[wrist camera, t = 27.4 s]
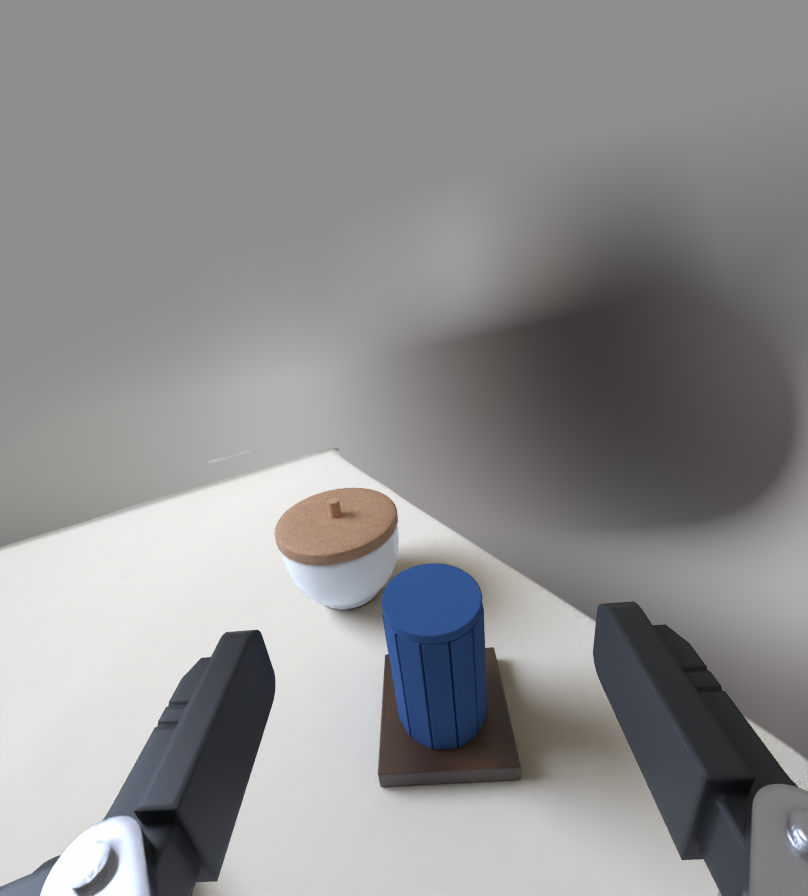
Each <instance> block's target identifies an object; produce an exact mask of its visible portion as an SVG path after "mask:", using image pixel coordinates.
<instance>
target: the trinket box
mask: <svg viewBox="0 0 808 896" xmlns="http://www.w3.org/2000/svg"><path fill="white" fill-rule="evenodd" d="M397 523H398V517H397V509H396V506H395V504H394V503H393V501H392V500H391V499H390V498H389V497H387V496H386V495H384V494H382V493H380V492H378V491H374V490H370V489H364V488H343V489H336V490H330V491H326V492H323V493H319V494H316V495H313V496H311V497H309V498H306V499H304V500H302V501H300V502H299V503H297V504H295V505H294V506H292V507H291V508H290V509H289V510H287V511H286V512H285V513H284V514H283V515H282V517H281V518H280V519H279V521H278V523H277V525H276V528H275V539H276V543H277V546H278V548H279V550H280V552H281V556H282V559H283V562H284V565H285V567H286V569H287V571H288V574H289V576H290V578H291V579H292V581H293V583H294V584H295V585H296V587H297V588H298V589H299V590H300V591H301V592H302V593H303V594H304V595H305V596H307V597H308V598H310V599H311V600H313V601H315V602H317V603H320V604H323V605H325V606H327V607H329V608H333V609H338V610H346V609H352V608H356V607H359V606H361V605H364V604H366V603H367V602H369V601H370V600H371V599H373V598H374V597H375V596H376V595H377V593H378V592H379V591H380V589H381V588H382V587H383V586H384V585H385V584H386V583H387V581H388V580H389V578H390V576H391V575H392V573H393V570H394V568H395V565H396V561H397V555H398V543H399V539H398V526H397Z"/></svg>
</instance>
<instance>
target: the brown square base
mask: <svg viewBox="0 0 808 896" xmlns="http://www.w3.org/2000/svg"><path fill="white" fill-rule="evenodd" d="M485 660H486V686H487V715H486V717H485V720H484V722H483V725H482V727H481V730H480V732H477V736H475V737H474V738H472V739H471V740H470V741H468V742H467V743H465V744H464V745H463V746H461V747H459V746H458V744H457V749H443V750H434V746H433V748H432V749H430V748H428V747H426V746H424V745H423V744H421V743H419V742H417V741H415V740H413V739H412V736H409V734H408V732H407V731H406V729H405V727H404V726H403V724H402V722H401V720H400V718H399V714H398V708H397V702H396V696H395V689H394V683H393V677H392V671H391V665H390V659H389V654H388V655H385V666H384V683H383V699H382V716H381V732H380V748H379V765H378V777H379V781H380V786H381V787H384V786H404V785H424V784H443V783H463V782H483V781H503V780H520V777H521V766H520V762H519V757H518V753H517V748H516V744H515V739H514V735H513V730H512V726H511V722H510V717H509V713H508V708H507V704H506V699H505V695H504V690H503V686H502V681H501V677H500V672H499V668H498V664H497V659H496V655H495V650H494V648H485Z"/></svg>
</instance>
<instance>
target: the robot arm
mask: <svg viewBox="0 0 808 896" xmlns="http://www.w3.org/2000/svg"><path fill="white" fill-rule="evenodd" d="M593 656H594V663H595V668H596V671H597V674H598V677H599V680H600V682H601V684H602V686H603V689H604V691H605V693H606V695H607V697H608V700H609V702H610V704H611V706H612V708H613V710H614V713H615V715H616V717H617V719H618V721H619V724H620V726H621V728H622V730H623V732H624V734H625V737H626V739H627V741H628V743H629V745H630V748H631V750H632V752H633V754H634V756H635V758H636V761H637V763H638V765H639V767H640V769H641V772H642V774H643V776H644V778H645V780H646V782H647V785H648V787H649V789H650V791H651V793H652V796H653V798H654V800H655V802H656V804H657V806H658V809H659V811H660V813H661V815H662V817H663V819H664V822H665V824H666V826H667V828H668V830H669V833H670V835H671V837H672V839H673V841H674V843H675V846H676V848H677V850H678V852H679V854H680V857H681V859H682V860H693V859H704V860H705V863H706V865H707V867H708V869H709V871H710V873H711V875H712V877H713V879H714V881H715V883H716V885H717V887H718V889H719V893H718V896H808V791H806V790H803V789H801V788H799V787H798V786H797V785H796V784H795V783H794V782H793V781H792V780H791V779H790V778H789V776H788V775H787V774H786V773H785V772H784V770H783V769H782V768H781V766H780V765H779V764H778V762H777V761H776V759H775V758H774V757H773V755H772V754H771V753H770V751H769V750H768V749H767V747H766V746H765V745H764V743H763V742H762V741H761V739H760V738H759V737H758V735H757V734H756V732H755V731H754V730H753V728H752V727H751V726H750V724H749V723H748V722H747V720H746V719H745V718H744V716H743V715H742V714H741V712H740V711H739V710H738V708H737V707H736V705H735V704H734V703H733V701H732V700H731V699H730V697H729V696H728V695H727V693H726V692H725V691H722V689H721V685H720V684H719V683H718V681H717V680H716V679H715V677H714V676H713V674H712V673H711V672H710V671H708V670H707V667H706V665H705V664H704V662H703V661H702V660H701V658H700V657H699V656H698V654H697V653H696V652H695V650H694V649H693V647H692V646H691V645H690V644H689V643H688V642H687V641H686V640H684V639H683V638H682V637H680V636H679V635H678V634H677V633H676V632H674V631H673V630H672V629H670V628H669V627H668V626H667V625H652V624H651V622H650V621H649V619H648V618H647V616H646V615H645V613H644V612H643V610H642V609H641V608H640V606H639V605H638V604H637V603H635V602H622V603H607V604H600V605H599V606H598V609H597V618H596V628H595V638H594V647H593ZM274 695H275V674H274V670H273V667H272V664H271V661H270V658H269V655H268V652H267V649H266V646H265V643H264V640H263V637H262V634H261V632H260V631H259V630H249V631H236V632H226V633H225V634H224V635H223V636H222V637H221V639H220V641H219V643H218V645H217V646H216V648H215V650H214V652H213V654H212V656H211V657H208V658H201V659H200V660H199V661H198V662H197V663H196V664H195V665H194V666H193V667H192V668H191V670H190V671H189V672H188V673H187V674H186V675H185V676H184V677H183V678H182V679H181V681H180V683H179V685H178V687H177V688H176V690H175V692H174V694H173V696H172V698H171V699H170V701H169V706H168V707H166V708H165V710H164V712H163V714H162V716H161V718H160V719H159V721H158V726H157V727H155V728H154V730H153V732H152V734H151V736H150V738H149V739H148V741H147V743H146V745H145V747H144V748H143V750H142V752H141V754H140V756H139V758H138V759H137V761H136V763H135V765H134V767H133V768H132V770H131V772H130V774H129V776H128V778H127V779H126V781H125V783H124V785H123V787H122V788H121V790H120V792H119V794H118V796H117V798H116V799H115V801H114V803H113V805H112V807H111V808H110V810H109V812H108V813H107V815H106V816H105V818H104V819H103V820H102V821H101V822H99V823H97V824H96V825H94V826H92V827H91V828H89V829H88V830H87V831H85V832H84V833H83V834H82V835H80V836H79V837H78V838H77V839H76V840H75V841H74V842H73V843H72V844H71V845H70V846H69V847H68V848H67V849H66V850H65V852H64V853H63V854H62V855H61V857H60V858H59V859H58V861H57V862H56V863H54V864H52V865H50V866H48V867H46V868H44V869H42V870H39V871H37V872H35V873H32V874H30V875H27V876H25V877H23V878H20V879H18V880H16V881H13V882H11V883H8V884H6V885H4V886H1V887H0V896H191V895H192V892H193V889H194V886H195V883H196V882H210V881H217V880H218V877H219V874H220V870H221V867H222V864H223V861H224V858H225V854H226V851H227V848H228V845H229V842H230V838H231V835H232V832H233V829H234V826H235V822H236V819H237V816H238V813H239V809H240V806H241V803H242V800H243V797H244V793H245V790H246V787H247V784H248V781H249V777H250V774H251V771H252V768H253V765H254V761H255V758H256V755H257V752H258V749H259V745H260V742H261V739H262V736H263V732H264V729H265V726H266V723H267V720H268V716H269V713H270V710H271V707H272V704H273V700H274Z"/></svg>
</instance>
